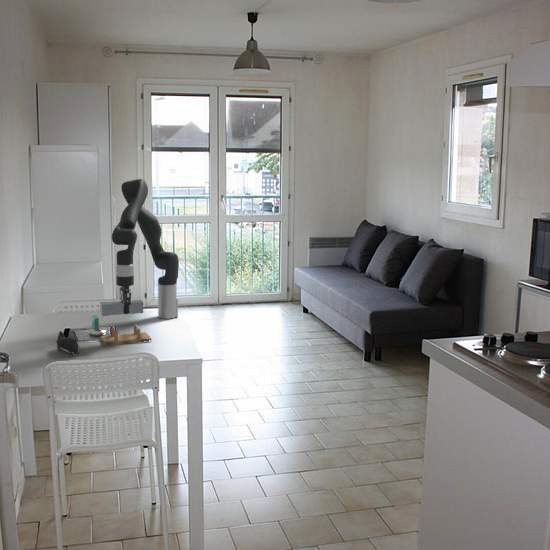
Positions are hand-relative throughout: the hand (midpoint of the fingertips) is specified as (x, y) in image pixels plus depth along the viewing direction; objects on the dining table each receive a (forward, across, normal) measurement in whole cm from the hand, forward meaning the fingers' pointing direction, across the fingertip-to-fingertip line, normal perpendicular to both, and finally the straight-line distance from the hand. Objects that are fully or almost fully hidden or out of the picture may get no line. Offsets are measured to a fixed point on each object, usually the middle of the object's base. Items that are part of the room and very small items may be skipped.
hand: (125, 312), depth 311 cm
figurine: (+13, -11, +26) cm, 31 cm away
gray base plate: (+13, +14, +12) cm, 23 cm away
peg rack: (+13, 0, 0) cm, 13 cm away
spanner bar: (0, 0, +2) cm, 2 cm away
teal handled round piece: (+12, +16, +10) cm, 23 cm away
